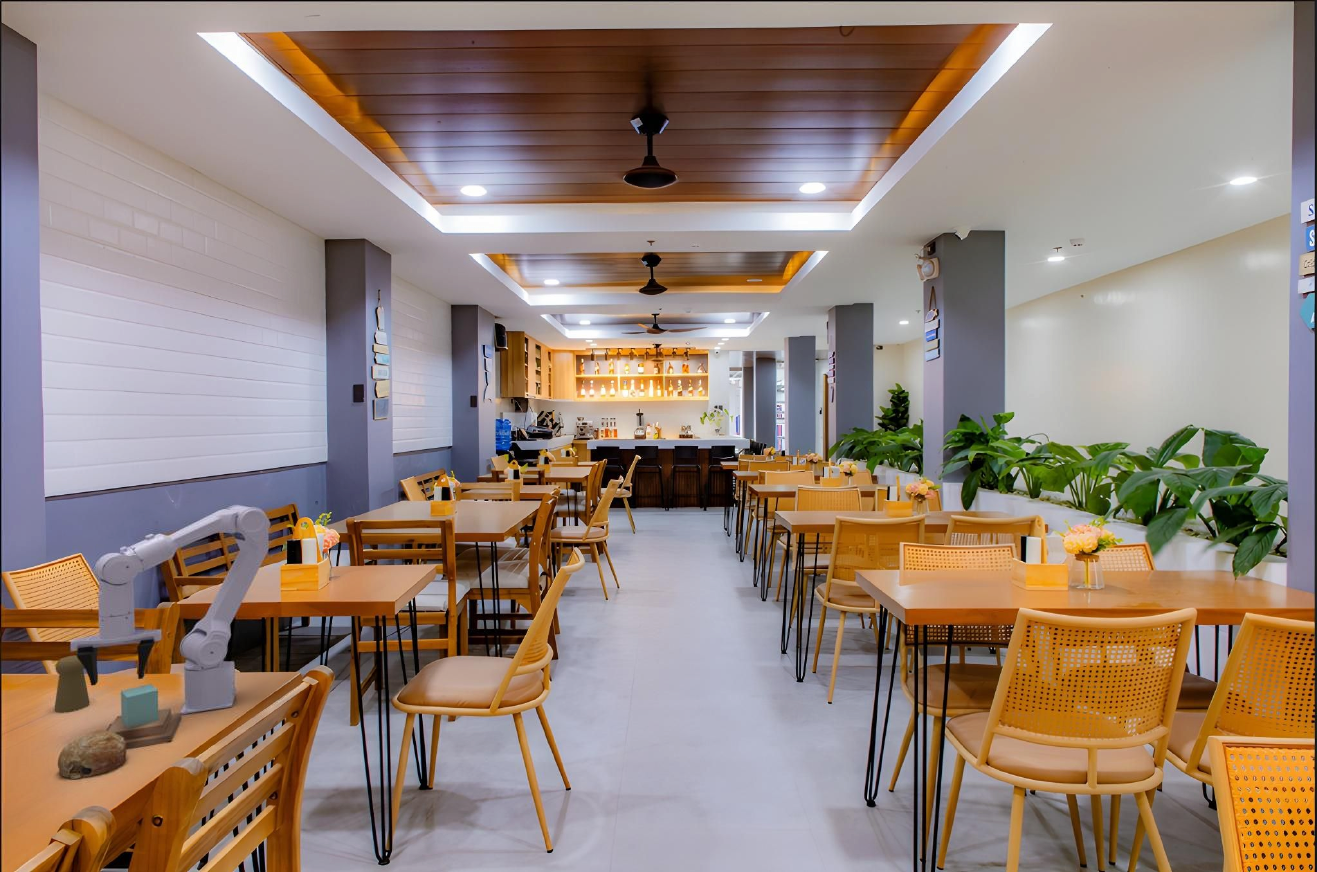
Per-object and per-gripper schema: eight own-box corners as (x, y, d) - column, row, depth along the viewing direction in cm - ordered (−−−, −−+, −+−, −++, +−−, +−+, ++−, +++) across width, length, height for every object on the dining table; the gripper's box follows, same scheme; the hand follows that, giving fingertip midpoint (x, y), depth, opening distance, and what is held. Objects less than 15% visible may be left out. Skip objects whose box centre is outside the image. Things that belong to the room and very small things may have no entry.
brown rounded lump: (53, 800, 125) (44, 767, 122) (71, 752, 134) (63, 721, 130) (122, 788, 129) (116, 756, 126) (135, 742, 138) (129, 711, 134)
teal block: (151, 713, 146) (151, 683, 146) (158, 720, 142) (157, 690, 142) (121, 721, 142) (120, 690, 142) (127, 728, 139) (127, 697, 139)
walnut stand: (181, 718, 150) (180, 704, 150) (170, 741, 140) (170, 726, 139) (110, 729, 145) (110, 714, 145) (94, 754, 134) (93, 738, 134)
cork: (69, 713, 153) (68, 662, 153) (46, 711, 155) (45, 660, 154) (97, 702, 159) (95, 653, 159) (74, 700, 160) (73, 651, 160)
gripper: (163, 604, 152) (164, 668, 152) (76, 613, 145) (78, 680, 145) (157, 612, 145) (159, 679, 146) (66, 621, 139) (68, 691, 139)
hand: (118, 680), depth 145 cm, fingers open, 7 cm apart
